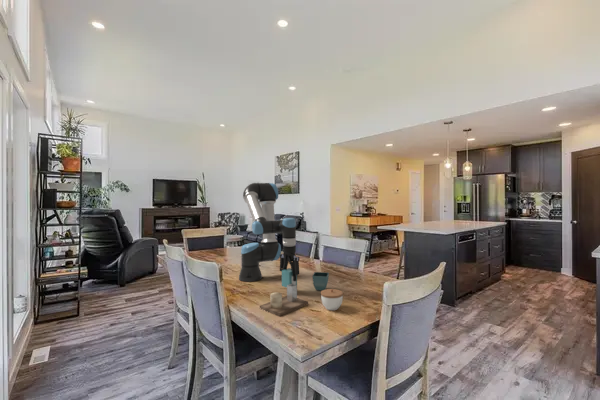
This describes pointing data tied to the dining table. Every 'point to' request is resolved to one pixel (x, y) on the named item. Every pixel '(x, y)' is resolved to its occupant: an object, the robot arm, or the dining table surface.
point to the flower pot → (320, 280)
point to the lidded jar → (332, 298)
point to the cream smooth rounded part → (276, 300)
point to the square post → (291, 292)
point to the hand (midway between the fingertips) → (289, 285)
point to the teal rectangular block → (287, 277)
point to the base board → (284, 306)
